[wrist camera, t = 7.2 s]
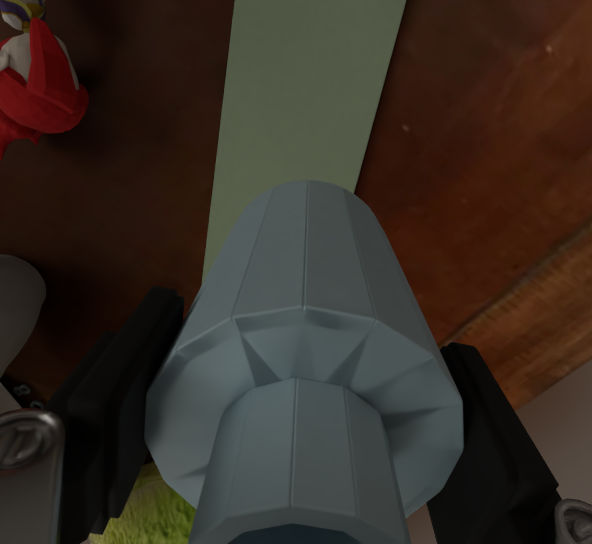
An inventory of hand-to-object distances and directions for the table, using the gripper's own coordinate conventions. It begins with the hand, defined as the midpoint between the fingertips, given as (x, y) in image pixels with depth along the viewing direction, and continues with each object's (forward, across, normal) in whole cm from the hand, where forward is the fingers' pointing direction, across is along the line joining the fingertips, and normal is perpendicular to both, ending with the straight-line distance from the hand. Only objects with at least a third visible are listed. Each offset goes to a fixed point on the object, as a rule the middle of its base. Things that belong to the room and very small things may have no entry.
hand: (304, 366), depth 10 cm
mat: (+21, +2, -1) cm, 21 cm away
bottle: (+7, 0, 0) cm, 7 cm away
